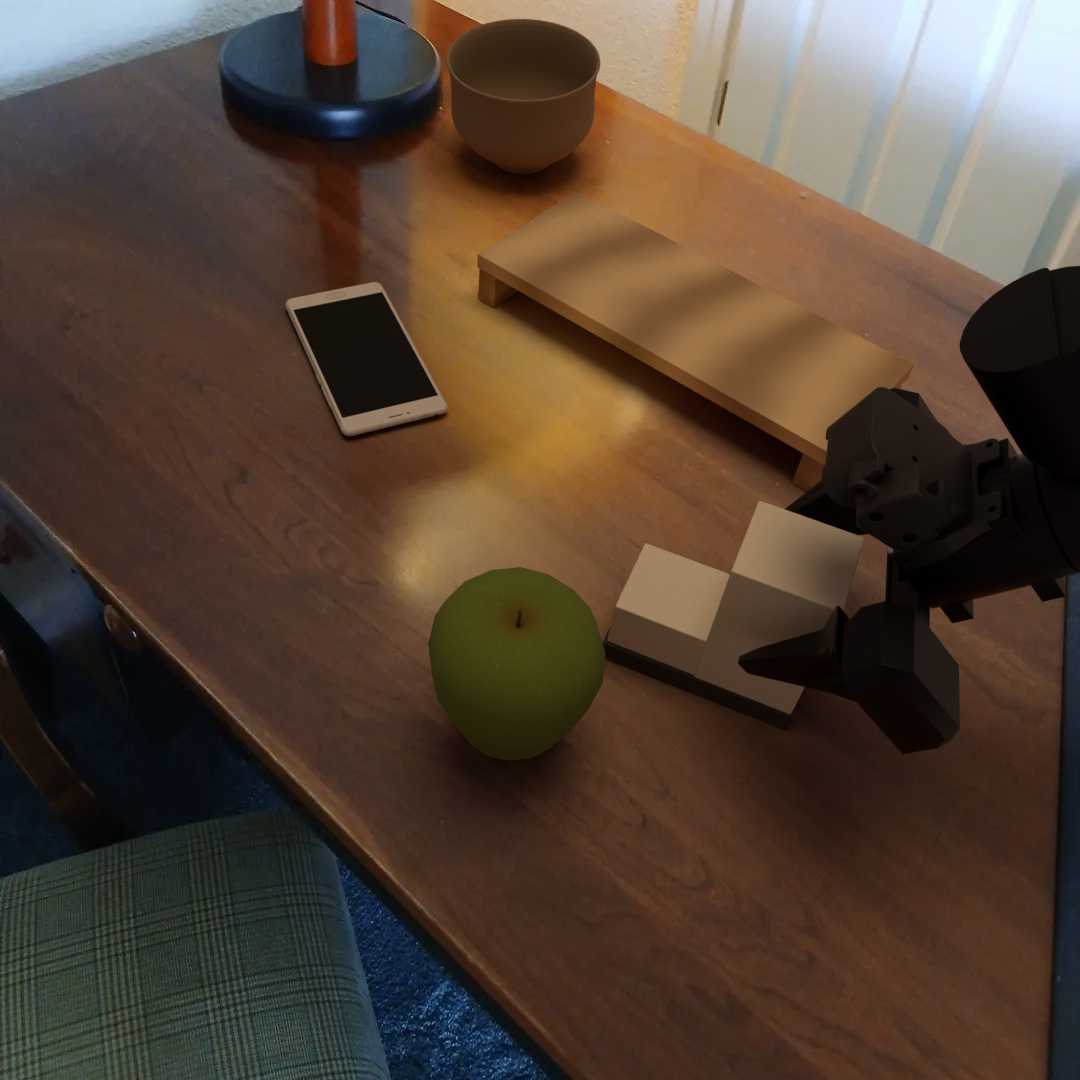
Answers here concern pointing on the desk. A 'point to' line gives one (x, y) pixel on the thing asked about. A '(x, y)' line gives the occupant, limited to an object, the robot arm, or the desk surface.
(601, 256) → the platform
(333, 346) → the smartphone
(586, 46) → the bowl
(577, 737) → the desk surface
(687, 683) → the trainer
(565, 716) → the apple
